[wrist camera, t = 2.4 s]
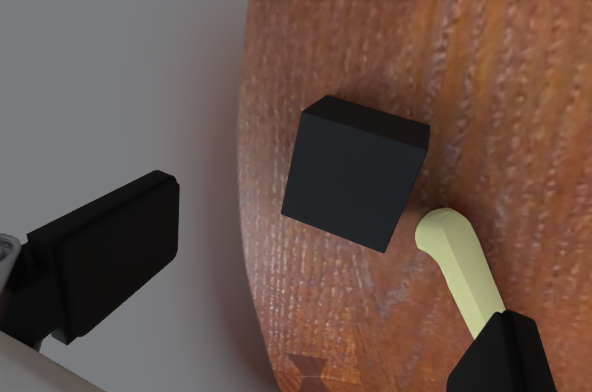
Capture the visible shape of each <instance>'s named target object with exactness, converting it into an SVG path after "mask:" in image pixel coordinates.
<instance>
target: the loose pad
mask: <svg viewBox="0 0 592 392" xmlns="http://www.w3.org/2000/svg"><path fill="white" fill-rule="evenodd" d="M429 135H430V126H429V125H426V124H422V123H419V122H415V121H412V120H409V119H405V118H402V117H399V116H395V115H392V114H388V113H385V112H382V111H378V110H375V109H371V108H368V107H365V106H361V105H358V104H354V103H351V102H348V101H344V100H341V99H337V98H334V97H331V96H327V95H326V96H325V97H323V98H322V99H320V100H319V101H317V102H316V103H314V104H313V105H311V106H310V107H308V108H307V109H305V110H304V111H302V113H301V118H300V123H299V128H298V133H297V138H296V142H295V147H294V152H293V157H292V162H291V166H290V171H289V176H288V181H287V186H286V191H285V195H284V200H283V205H282V210H281V214H282V215H285V216H287V217H290V218H293V219H295V220H298V221H300V222H303V223H306V224H308V225H311V226H313V227H316V228H319V229H321V230H324V231H326V232H329V233H332V234H334V235H337V236H339V237H342V238H345V239H347V240H350V241H352V242H355V243H358V244H360V245H363V246H365V247H368V248H371V249H373V250H376V251H379V252H381V253H385V251H386V248H387V246H388V244H389V241H390V239H391V237H392V234H393V232H394V230H395V227H396V225H397V223H398V220H399V218H400V216H401V213H402V211H403V209H404V206H405V204H406V202H407V199H408V197H409V195H410V192H411V190H412V187H413V185H414V183H415V180H416V178H417V176H418V173H419V171H420V169H421V166H422V164H423V162H424V159H425V157H426V155H427V152H428V145H429Z"/></svg>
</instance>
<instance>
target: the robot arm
mask: <svg viewBox="0 0 592 392" xmlns="http://www.w3.org/2000/svg"><path fill="white" fill-rule="evenodd" d="M179 190H180V187H179V184H178V183H177V181H176V178H175V177H174V176H172V175H169V174H167V173H164V172H162V171H159V170H155V171H152V172H150V173H149V174H146V175H144V176H142V177H140V178H138V179H136V180H134V181H132V182H130V183H128V184H126V185H124V186H123V187H120V188H118V189H116V190H114V191H112V192H110V193H108V194H106V195H104V196H102V197H100V198H98V199H96V200H94V201H92V202H90V203H88V204H86V205H84V206H82V207H80V208H78V209H76V210H74V211H72V212H70V213H68V214H66V215H64V216H62V217H60V218H58V219H56V220H54V221H52V222H50V223H48V224H46V225H44V226H42V227H40V228H38V229H36V230H34V231H32V232H30V233H28V234H27V239H28V242H27V243H25V244H23V245H21V243H20V242H19V240H18V239H17V238H15V237H14V236H10V235H7V234H0V392H105V391H104V390H102V389H100V388H98V387H97V386H95V385H93V384H92V383H90V382H88V381H86V380H85V379H83V378H81V377H79V376H78V375H76V374H75V373H73V372H71V371H70V370H68V369H66V368H64V367H63V366H61V365H60V364H58V363H56V362H54V361H52V360H51V359H49V358H47V357H46V356H44V355H43V354H41V353H39V350H40V347H41V344H42V341H43V339H44V338H45V337H46V336H48V335H49V334H50V333H51V335H52V337H53V338H55V339H57V340H59V341H61V342H62V343H64V344H65V345H68V344H70V343H71V342H72V341H73V340H74V339H76V338H77V337H82V336H84V335H86V334H87V333H88V332H90V331H91V330H92V329H93V328H94V327H95V326H97V325H98V324H99V323H100V322H101V321H102V320H104V319H105V318H106V317H107V316H108V315H109V314H111V313H112V312H113V311H114V310H115V309H116V308H118V307H119V306H120V305H121V304H122V303H123V302H125V301H126V300H127V299H128V298H129V297H130V296H132V295H133V294H134V293H135V292H136V291H137V290H139V289H140V288H141V287H142V286H143V285H144V284H145V283H147V282H148V281H149V280H150V279H151V278H152V277H153V276H155V275H156V274H157V273H158V272H159V271H160V270H162V269H163V268H164V267H165V266H166V265H168V263H170V262H171V261H172V260H173V259H174V258H175V256H176V254H177V250H178V224H179ZM446 392H558V391H557V390H556V388H555V385H554V382H553V378H552V375H551V372H550V368H549V365H548V362H547V358H546V355H545V352H544V349H543V345H542V342H541V339H540V335H539V332H538V329H537V326H536V323H535V321H534V320H533V319H531V318H529V317H526V316H524V315H521V314H519V313H516V312H514V311H511V310H505V311H503V312H502V313H500V312H495V313H494V314H493V315H492V316H491V318H490V319H489V320H488V322H487V323H486V325H485V326H484V327H483V329H482V330H481V332H480V333H479V334H478V336H477V337H476V339H475V340H474V341H473V343H472V344H471V346H470V347H469V348H468V350H467V351H466V353H465V354H464V355H463V357H462V358H461V360H460V361H459V362H458V364H457V365H456V367H455V368H454V369H453V371H452V372H451V374H450V375H449V378H448V381H447V387H446Z"/></svg>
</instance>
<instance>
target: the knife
mask: <svg viewBox="0 0 592 392" xmlns="http://www.w3.org/2000/svg"><path fill="white" fill-rule="evenodd" d="M415 241H416V244H417V247H418V249H420V250H422V251H424V252H426V253H428V254H429V255H430V256H431V257H433V258H434V259H435V260H436V261H437V263H438V264H439V266H440V268H441V270H442V272H443V274H444V276H445V278H446V281H447V284H448V287H449V289H450V291H451V293H452V295H453V297H454V299H455V301H456V303H457V306H458V308H459V310H460V312H461V314H462V316H463V318H464V320H465V322H466V324H467V326H468V328H469V330H470V332H471V334H472V336H473V338H474V340H475V339H476V337H477V336H478V334H479V333H480V332H481V330H482V329H483V327H484V326H485V325H486V323H487V322H488V320H489V319H490V318H491V316H492V315H493V314H494V313H495V312H500V313H502V312H503V311H505V310H506V309H505V306H504V304H503V301H502V299H501V296H500V294H499V292H498V289H497V287H496V284H495V282H494V279H493V277H492V274H491V272H490V269H489V266H488V264H487V261H486V258H485V256H484V253H483V250H482V248H481V245H480V242H479V240H478V237H477V235H476V234H475V232H474V230H473V228H472V226H471V224H470V222H469V221H468V220H467V218H465V217H464V216H463V215H461V214H460V213H458V212H457V211H455V210H453V209H451V208H441V209H436V210H433V211H430V212H428V214H427V215H426V216H425V217H424V218H423V219H422V220H421V221H420V223H419V224H418V226H417V229H416V232H415Z"/></svg>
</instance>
